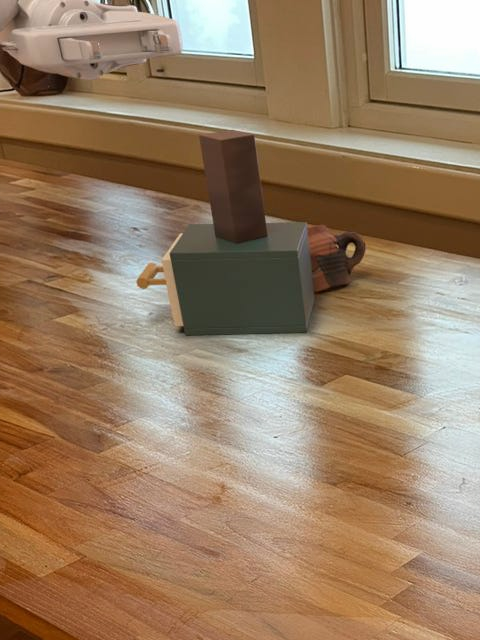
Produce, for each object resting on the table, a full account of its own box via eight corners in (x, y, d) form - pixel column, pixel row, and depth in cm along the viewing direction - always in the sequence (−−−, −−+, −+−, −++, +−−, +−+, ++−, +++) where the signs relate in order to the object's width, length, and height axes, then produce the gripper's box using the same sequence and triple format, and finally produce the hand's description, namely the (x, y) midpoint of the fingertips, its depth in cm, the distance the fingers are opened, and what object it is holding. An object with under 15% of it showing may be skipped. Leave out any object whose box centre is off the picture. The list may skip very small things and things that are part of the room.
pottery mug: (295, 301, 127) (269, 239, 125) (295, 311, 137) (271, 254, 135) (379, 268, 129) (354, 206, 127) (373, 280, 138) (350, 223, 136)
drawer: (139, 327, 116) (124, 260, 111) (158, 296, 125) (146, 233, 120) (287, 324, 117) (278, 257, 112) (296, 293, 126) (288, 231, 121)
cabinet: (185, 335, 116) (169, 252, 110) (203, 301, 126) (189, 224, 120) (306, 332, 117) (297, 250, 111) (315, 298, 127) (306, 221, 121)
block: (236, 243, 113) (220, 140, 106) (215, 236, 116) (198, 134, 109) (268, 236, 116) (254, 134, 109) (246, 229, 118) (232, 129, 111)
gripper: (-14, 14, 114) (39, 22, 106) (142, 4, 126) (200, 10, 118) (3, 75, 118) (55, 87, 110) (152, 60, 130) (209, 69, 122)
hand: (131, 47), depth 114 cm, fingers open, 8 cm apart
